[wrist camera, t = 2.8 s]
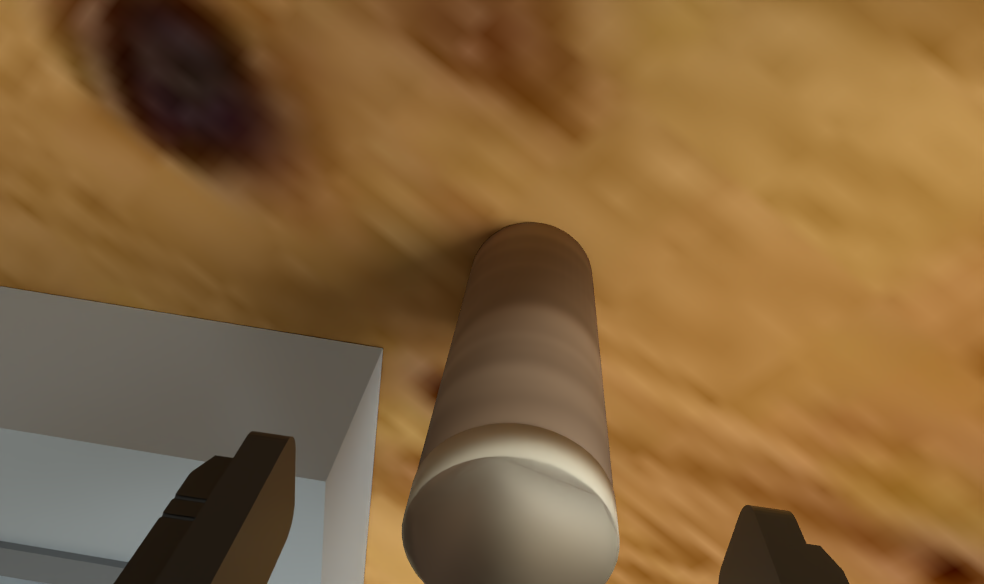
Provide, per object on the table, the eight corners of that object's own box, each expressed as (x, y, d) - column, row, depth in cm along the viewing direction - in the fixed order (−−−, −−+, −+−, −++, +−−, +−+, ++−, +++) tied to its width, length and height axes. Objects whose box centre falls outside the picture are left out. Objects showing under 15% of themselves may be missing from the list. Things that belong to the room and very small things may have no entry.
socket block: (-74, 274, 22) (-287, 386, 17) (383, 348, 22) (323, 487, 16) (-1, 600, 28) (-138, 762, 23) (357, 660, 28) (307, 838, 23)
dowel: (478, 212, 20) (412, 437, 11) (604, 232, 20) (641, 475, 11) (463, 322, 21) (393, 601, 12) (580, 342, 21) (595, 635, 12)
